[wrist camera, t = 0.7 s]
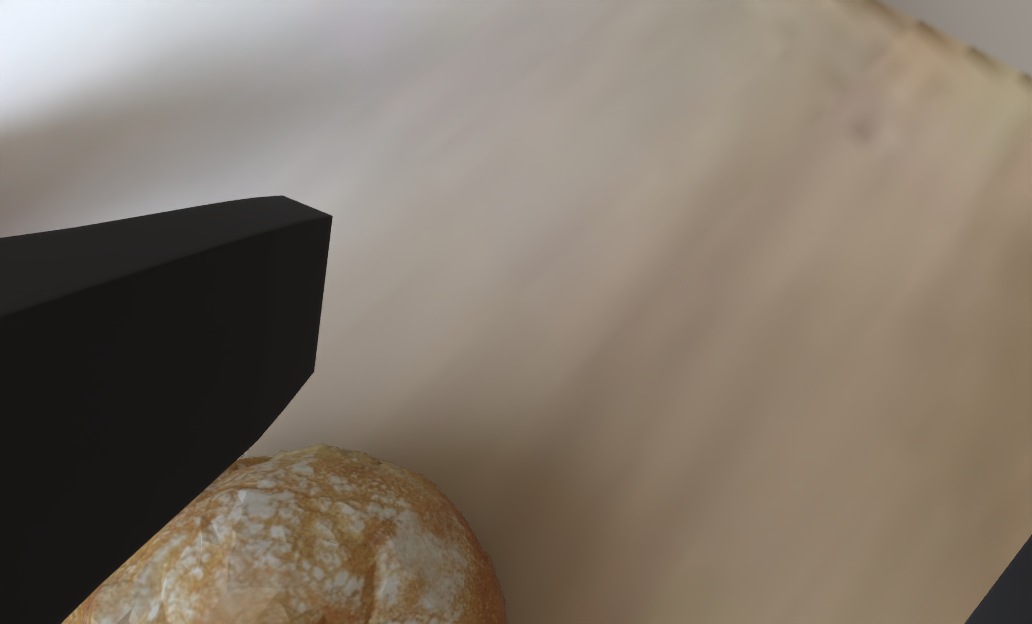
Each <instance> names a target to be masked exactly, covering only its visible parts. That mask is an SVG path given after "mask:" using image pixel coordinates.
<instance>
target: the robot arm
mask: <svg viewBox="0 0 1032 624" xmlns="http://www.w3.org/2000/svg"><path fill="white" fill-rule="evenodd" d="M331 225H332V216H331V215H329V214H326V213H324V212H321V211H319V210H317V209H314V208H312V207H309V206H307V205H304V204H302V203H300V202H297V201H295V200H292V199H290V198H287V197H285V196H269V197H257V198H248V199H241V200H234V201H227V202H221V203H214V204H208V205H202V206H196V207H190V208H185V209H179V210H173V211H168V212H162V213H156V214H150V215H144V216H139V217H133V218H127V219H121V220H116V221H110V222H104V223H98V224H92V225H87V226H81V227H75V228H68V229H61V230H54V231H47V232H40V233H33V234H25V235H18V236H11V237H4V238H0V624H62V622H63V621H64V620H65V619H66V618H67V617H68V616H69V615H70V614H71V613H72V612H73V611H74V610H75V609H76V608H77V607H78V606H79V605H80V604H81V603H82V602H83V601H84V600H85V599H86V598H87V597H88V596H90V595H91V594H92V593H93V592H94V591H95V590H96V589H97V588H98V587H99V586H100V585H101V584H102V583H103V582H104V581H105V580H106V579H107V578H108V577H109V576H111V575H112V574H113V573H114V572H115V571H116V570H117V569H118V568H119V567H120V566H121V565H123V564H124V563H125V562H126V561H127V560H128V559H129V558H130V557H131V556H132V555H134V554H135V553H136V552H137V551H138V550H139V549H140V548H141V547H142V546H143V545H145V544H146V543H147V542H148V541H149V540H150V539H151V538H152V537H153V536H154V535H156V534H157V533H158V532H159V531H160V530H161V529H162V528H163V527H164V526H165V525H167V524H168V523H169V522H170V521H171V520H172V519H173V518H174V517H175V516H176V515H178V514H179V513H180V512H181V511H182V510H183V509H184V508H185V507H186V506H187V505H189V504H190V503H191V502H192V501H193V500H194V499H195V498H196V497H197V496H198V495H200V494H201V493H202V492H203V491H204V490H205V489H206V488H207V487H208V486H209V485H210V484H211V483H213V482H214V481H215V480H216V479H217V478H218V477H219V476H220V475H221V474H222V473H223V472H224V471H225V470H227V469H228V468H229V467H230V466H231V465H232V464H233V463H234V462H235V461H236V460H237V459H238V458H239V457H241V456H242V455H243V454H244V453H245V452H246V451H247V450H248V449H249V448H250V447H251V446H252V445H253V444H254V443H255V442H256V441H257V440H258V439H259V438H260V437H261V436H262V435H263V433H264V432H265V431H266V430H267V429H268V428H269V426H270V425H271V424H272V423H273V422H274V421H275V419H276V418H277V417H278V416H279V415H280V414H281V412H282V411H283V410H284V409H285V408H286V406H287V405H288V404H289V403H290V401H291V400H292V399H293V398H294V396H295V395H296V394H297V393H298V391H299V390H300V389H301V387H302V386H303V385H304V384H305V382H306V381H307V380H308V379H309V377H310V376H311V375H312V374H313V372H314V367H315V359H316V351H317V342H318V334H319V325H320V317H321V309H322V300H323V292H324V283H325V275H326V267H327V258H328V250H329V241H330V233H331ZM965 624H1032V535H1031V536H1030V538H1029V539H1028V540H1027V542H1026V543H1025V544H1024V546H1023V547H1022V548H1021V550H1020V551H1019V552H1018V554H1017V555H1016V556H1015V558H1014V559H1013V560H1012V562H1011V563H1010V564H1009V565H1008V567H1007V568H1006V569H1005V571H1004V572H1003V573H1002V575H1001V576H1000V577H999V579H998V580H997V581H996V583H995V584H994V585H993V587H992V588H991V589H990V591H989V592H988V593H987V595H986V596H985V597H984V599H983V600H982V601H981V603H980V604H979V605H978V607H977V608H976V609H975V611H974V612H973V613H972V614H971V616H970V617H969V618H968V620H967V621H966V622H965Z"/></svg>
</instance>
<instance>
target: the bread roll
mask: <svg viewBox="0 0 1032 624" xmlns="http://www.w3.org/2000/svg"><path fill="white" fill-rule="evenodd" d="M62 624H507V621H506V616H505V600H504V597H503V594H502V591H501V587H500V584H499V582H498V579H497V577H496V575H495V572H494V569H493V566H492V563H491V560H490V557H489V555H488V554H487V553H486V552H484V551H483V550H482V548H481V546H480V543H479V541H478V540H477V538H476V537H475V535H474V533H473V532H472V530H471V528H470V527H469V525H468V523H467V522H466V520H465V518H464V517H463V515H462V514H461V512H460V511H459V510H458V509H457V508H456V507H455V506H454V504H453V503H452V502H451V501H450V500H449V499H448V498H447V497H446V496H445V495H444V494H443V493H442V492H441V491H440V490H439V488H438V487H437V486H436V485H434V484H433V483H432V482H431V481H429V480H428V479H427V478H425V477H424V476H423V475H421V474H419V473H416V472H413V471H411V470H408V469H405V468H401V467H396V466H395V465H394V464H393V463H389V462H385V461H380V460H377V459H375V458H372V457H371V456H369V455H368V454H366V453H361V452H359V451H352V450H346V449H342V450H341V449H339V448H337V447H329V446H326V445H324V444H320V445H316V446H312V447H308V448H304V449H298V450H293V451H283V450H281V451H279V452H278V453H277V454H276V455H275V456H273V457H268V456H262V457H252V458H245V459H241V460H237V461H235V462H234V463H233V464H232V465H231V466H230V467H229V468H228V469H227V470H225V471H224V472H223V473H222V474H221V475H220V476H219V477H218V478H217V479H216V480H215V481H214V482H213V483H211V484H210V485H209V486H208V487H207V488H206V489H205V490H204V491H203V492H202V493H201V494H200V495H198V496H197V497H196V498H195V499H194V500H193V501H192V502H191V503H190V504H189V505H187V506H186V507H185V508H184V509H183V510H182V511H181V512H180V513H179V514H178V515H176V516H175V517H174V518H173V519H172V520H171V521H170V522H169V523H168V524H167V525H165V526H164V527H163V528H162V529H161V530H160V531H159V532H158V533H157V534H156V535H154V536H153V537H152V538H151V539H150V540H149V541H148V542H147V543H146V544H145V545H143V546H142V547H141V548H140V549H139V550H138V551H137V552H136V553H135V554H134V555H132V556H131V557H130V558H129V559H128V560H127V561H126V562H125V563H124V564H123V565H121V566H120V567H119V568H118V569H117V570H116V571H115V572H114V573H113V574H112V575H111V576H109V577H108V578H107V579H106V580H105V581H104V582H103V583H102V584H101V585H100V586H99V587H98V588H97V589H96V590H95V591H94V592H93V593H92V594H91V595H90V596H88V597H87V598H86V599H85V600H84V601H83V602H82V603H81V604H80V605H79V606H78V607H77V608H76V609H75V610H74V611H73V612H72V613H71V614H70V615H69V616H68V617H67V618H66V619H65V620H64V621H63V622H62Z"/></svg>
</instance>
